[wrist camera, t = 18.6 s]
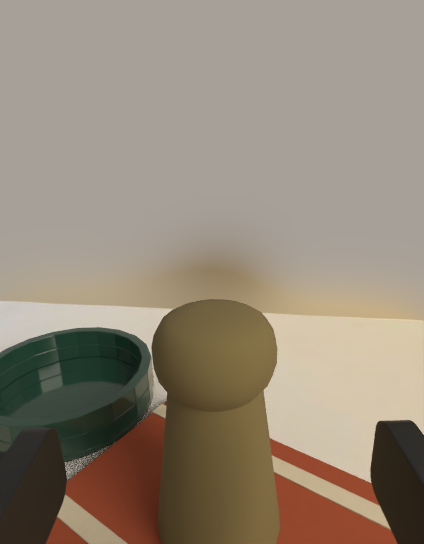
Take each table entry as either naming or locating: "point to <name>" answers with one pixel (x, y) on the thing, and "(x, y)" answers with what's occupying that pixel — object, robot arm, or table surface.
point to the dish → (75, 387)
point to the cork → (216, 425)
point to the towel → (146, 486)
